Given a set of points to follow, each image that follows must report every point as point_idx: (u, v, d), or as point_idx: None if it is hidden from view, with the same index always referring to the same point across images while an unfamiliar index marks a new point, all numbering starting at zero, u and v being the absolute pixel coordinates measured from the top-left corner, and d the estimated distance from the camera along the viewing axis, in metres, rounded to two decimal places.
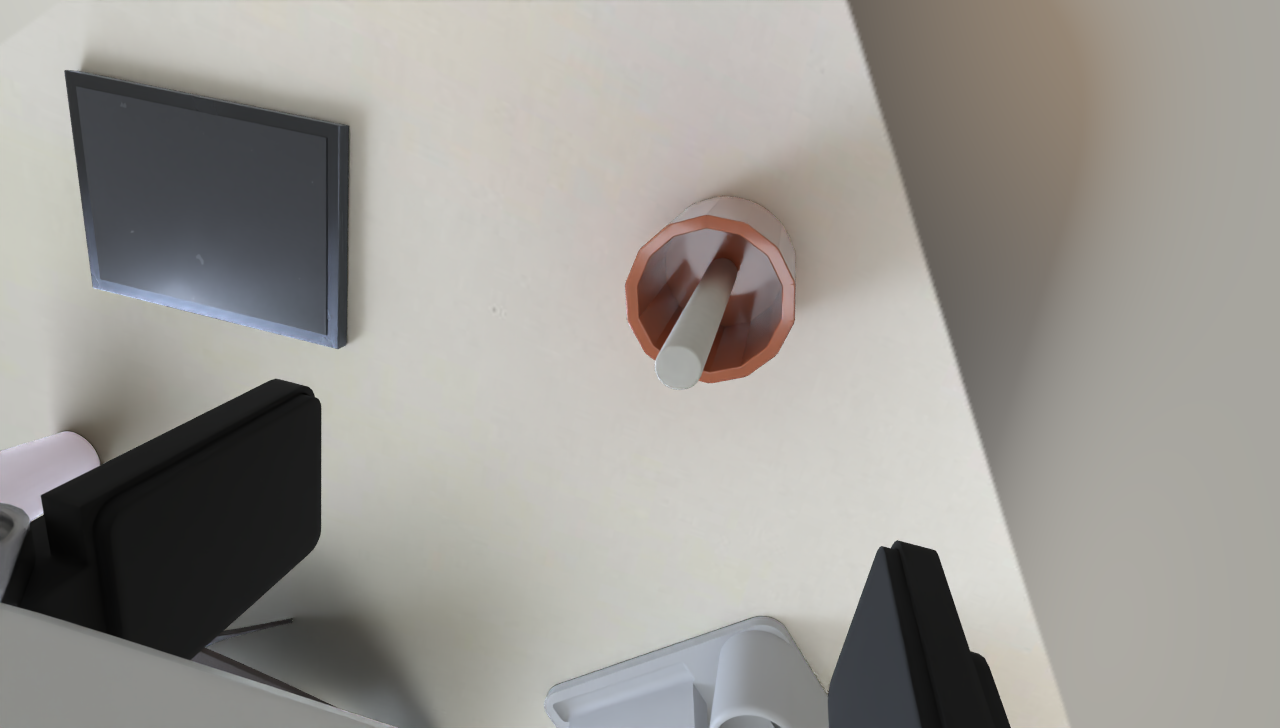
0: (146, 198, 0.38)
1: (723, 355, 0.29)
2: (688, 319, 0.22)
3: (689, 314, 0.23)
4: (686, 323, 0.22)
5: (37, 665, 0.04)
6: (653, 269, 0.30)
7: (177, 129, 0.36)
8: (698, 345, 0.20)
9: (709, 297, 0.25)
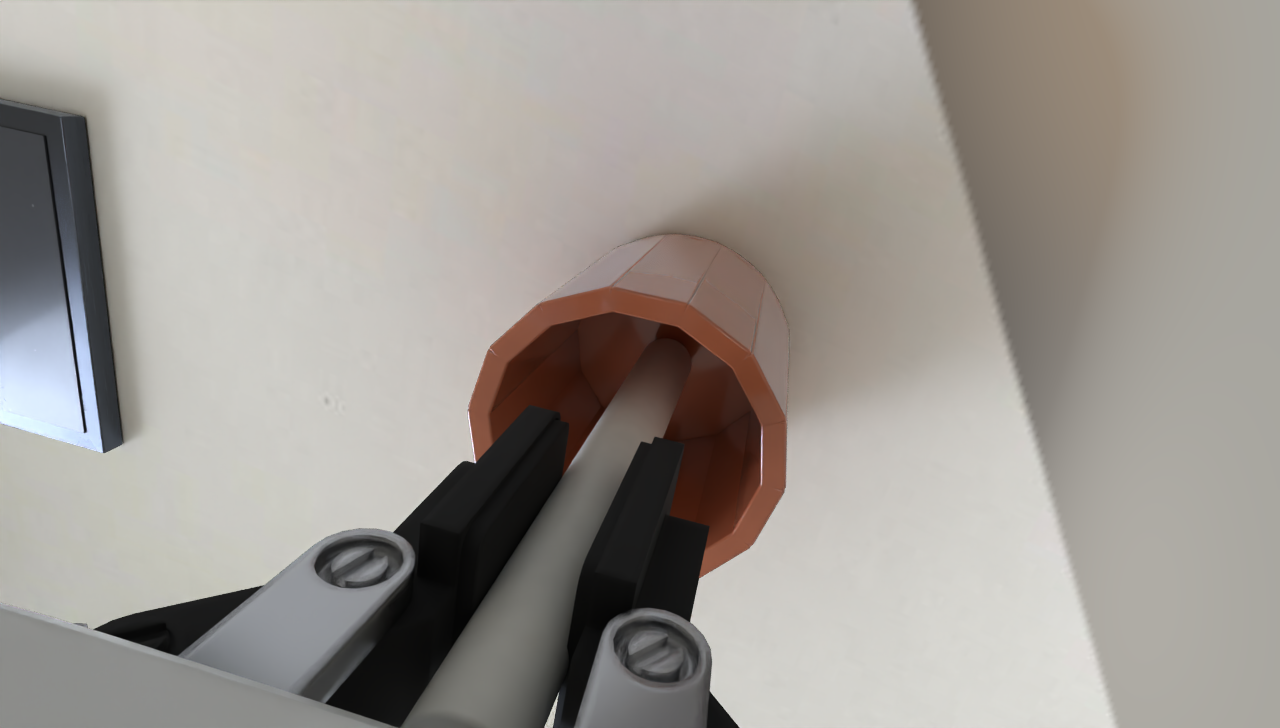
0: None
1: None
2: (532, 558, 0.09)
3: (544, 532, 0.10)
4: (520, 578, 0.09)
5: (37, 665, 0.04)
6: (543, 362, 0.18)
7: None
8: (519, 686, 0.08)
9: (611, 459, 0.12)
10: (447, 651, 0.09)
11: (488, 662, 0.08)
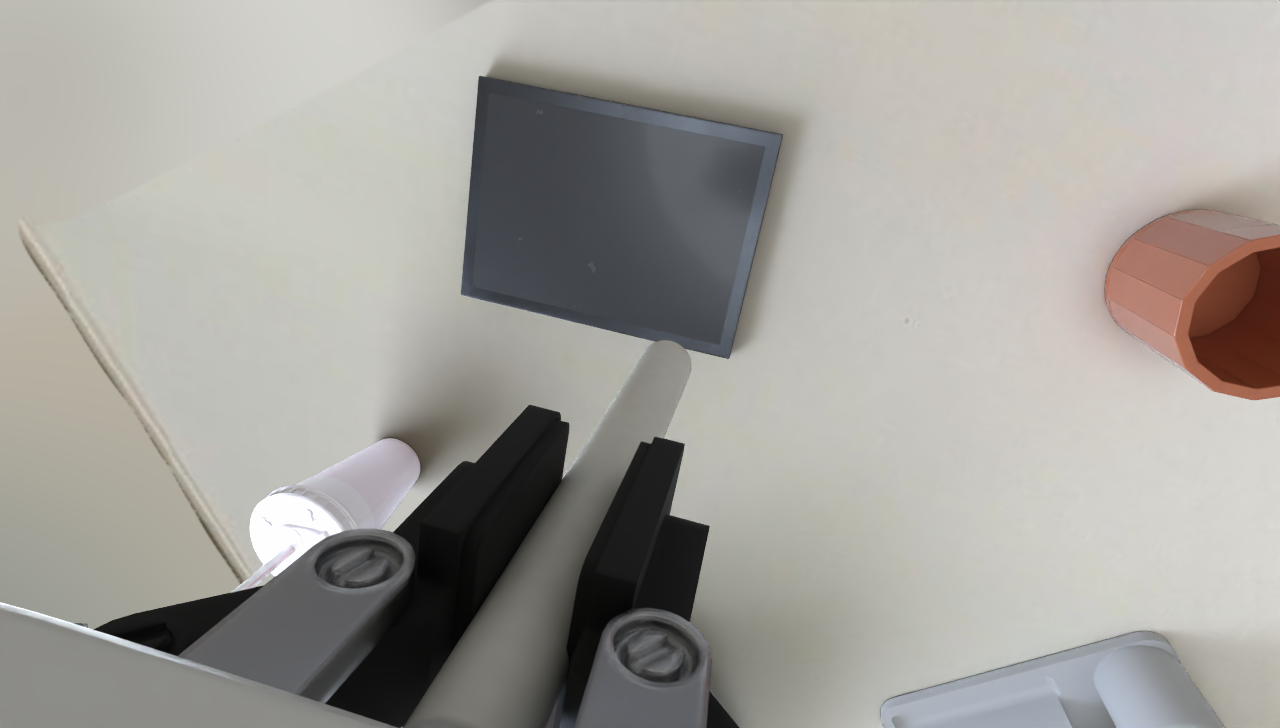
0: (545, 205, 0.38)
1: (1241, 371, 0.29)
2: (532, 561, 0.09)
3: (543, 536, 0.10)
4: (520, 582, 0.09)
5: (37, 665, 0.04)
6: None
7: (595, 136, 0.36)
8: (519, 692, 0.08)
9: (611, 462, 0.12)
10: (447, 651, 0.09)
11: (488, 667, 0.08)
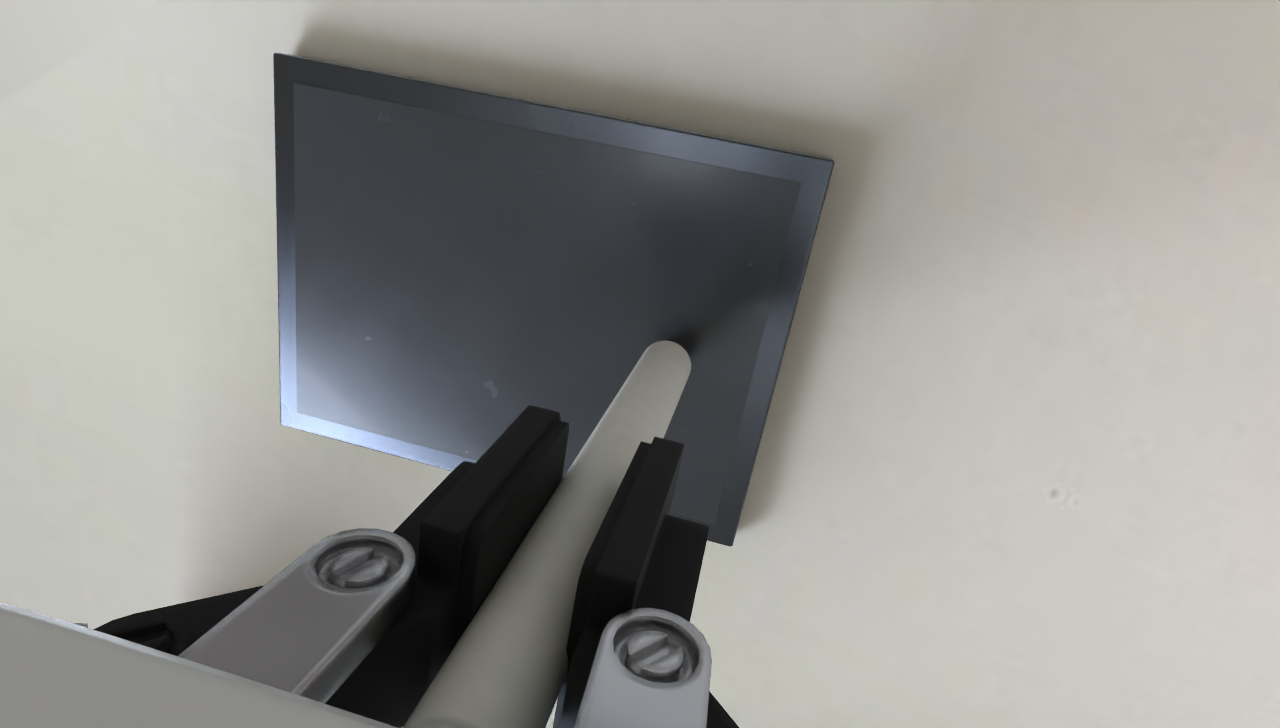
0: (405, 282, 0.21)
1: None
2: (531, 562, 0.09)
3: (543, 536, 0.10)
4: (520, 582, 0.09)
5: (36, 665, 0.04)
6: None
7: (486, 162, 0.19)
8: (518, 692, 0.08)
9: (611, 463, 0.12)
10: (447, 651, 0.09)
11: (488, 667, 0.08)
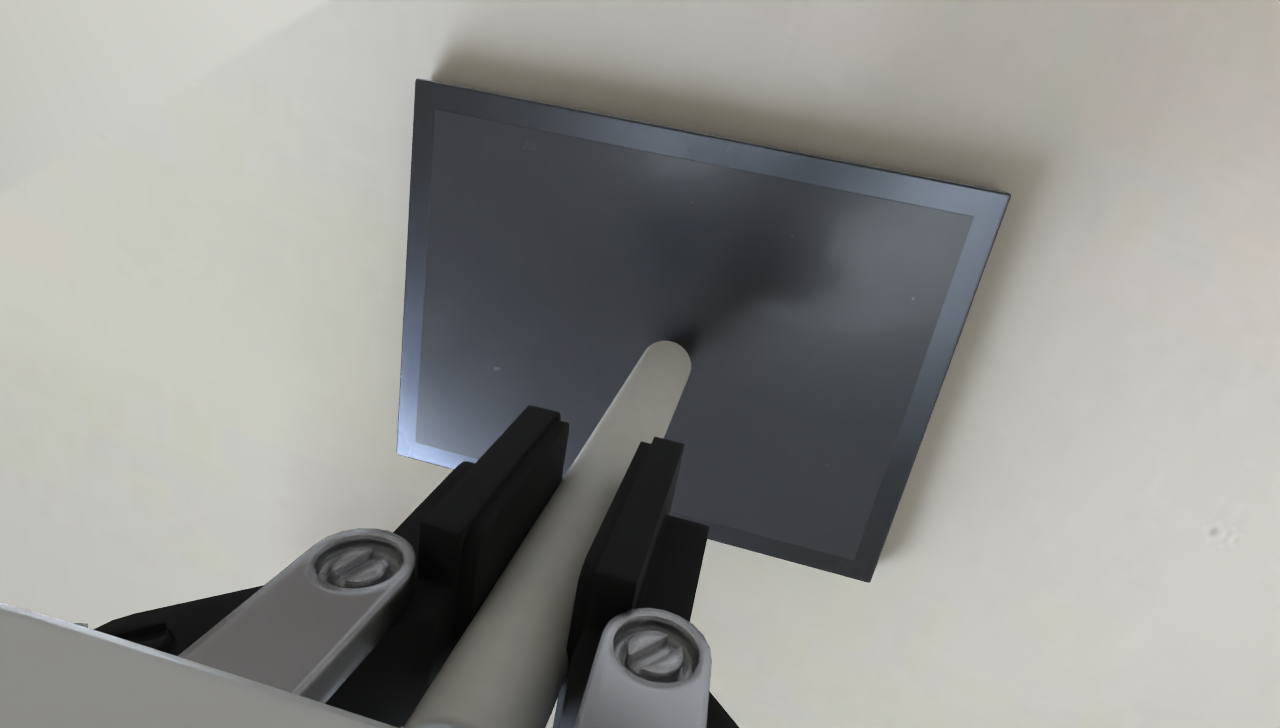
0: (540, 313, 0.21)
1: None
2: (532, 562, 0.09)
3: (543, 536, 0.10)
4: (520, 582, 0.09)
5: (37, 665, 0.04)
6: None
7: (635, 192, 0.19)
8: (519, 692, 0.08)
9: (611, 462, 0.12)
10: (447, 651, 0.09)
11: (488, 667, 0.08)
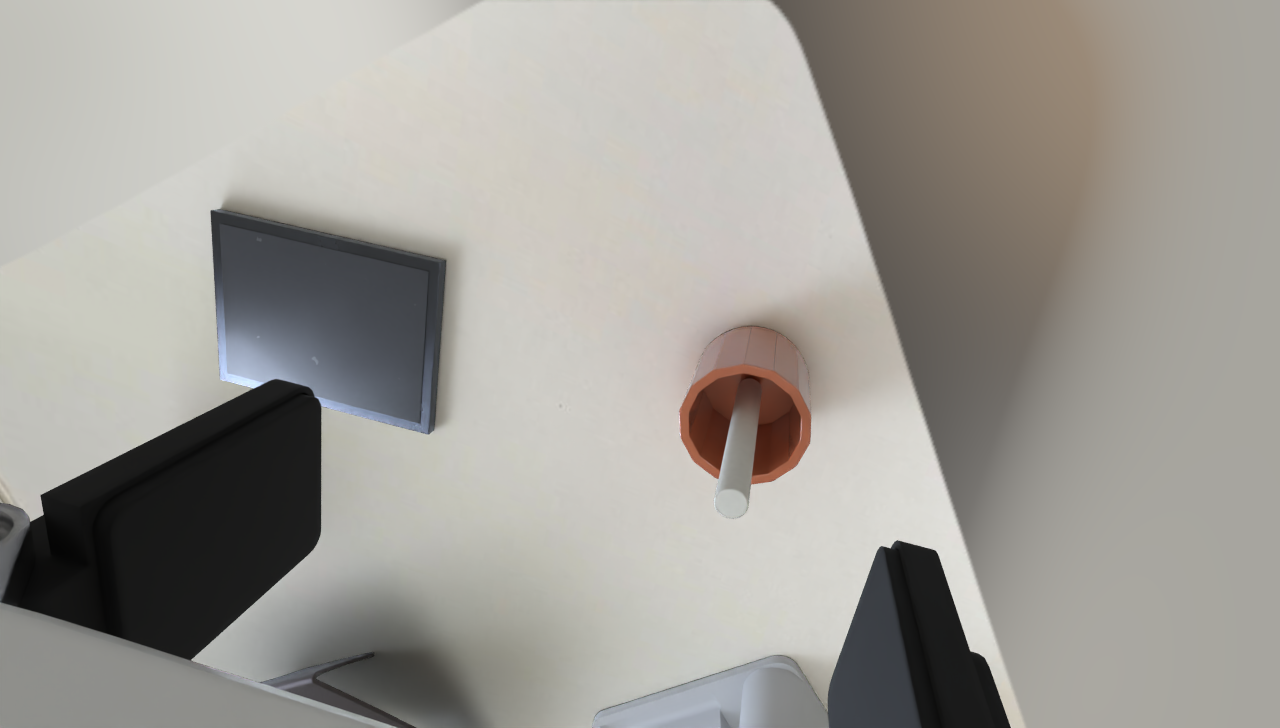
0: (273, 311, 0.46)
1: None
2: (734, 459, 0.31)
3: (734, 452, 0.31)
4: (733, 463, 0.30)
5: (37, 665, 0.04)
6: None
7: (303, 259, 0.44)
8: (744, 486, 0.29)
9: (746, 431, 0.33)
10: None
11: (735, 480, 0.29)
